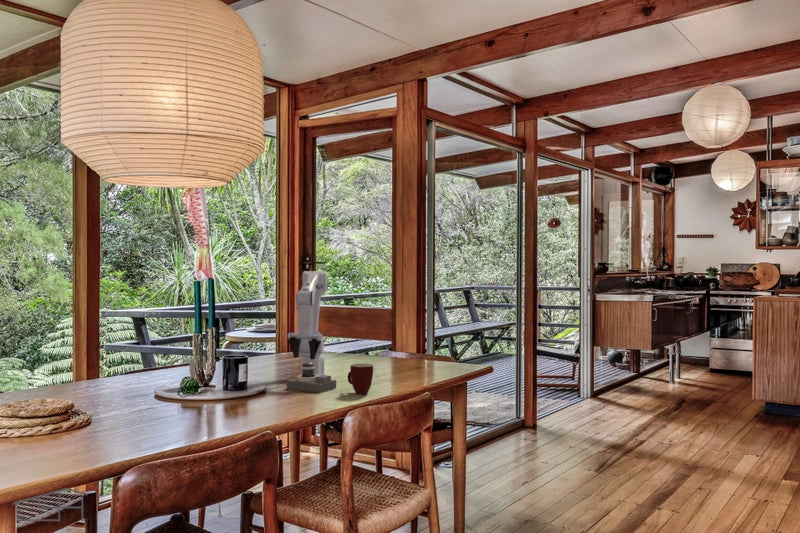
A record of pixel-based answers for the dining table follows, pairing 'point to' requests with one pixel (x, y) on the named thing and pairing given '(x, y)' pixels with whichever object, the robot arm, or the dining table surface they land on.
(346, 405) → the dining table surface
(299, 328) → the robot arm
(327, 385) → the camera body
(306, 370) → the lens
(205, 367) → the cup
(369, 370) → the mug
